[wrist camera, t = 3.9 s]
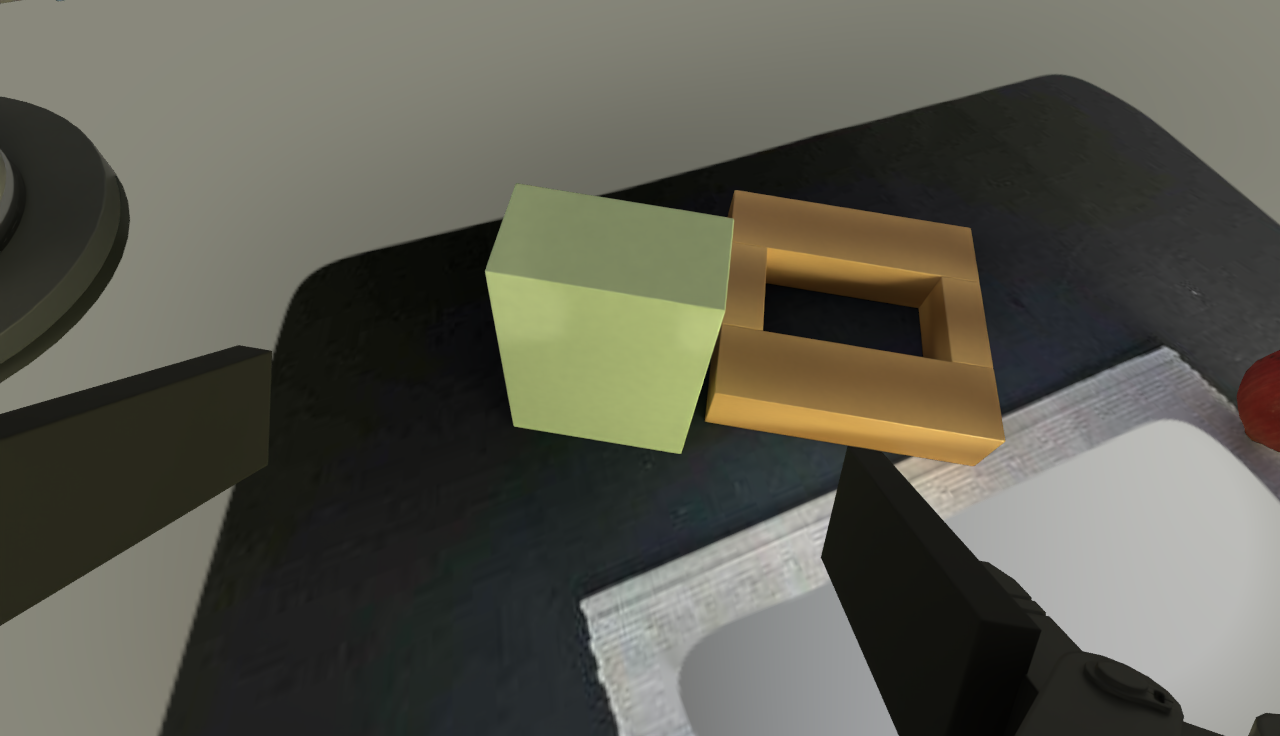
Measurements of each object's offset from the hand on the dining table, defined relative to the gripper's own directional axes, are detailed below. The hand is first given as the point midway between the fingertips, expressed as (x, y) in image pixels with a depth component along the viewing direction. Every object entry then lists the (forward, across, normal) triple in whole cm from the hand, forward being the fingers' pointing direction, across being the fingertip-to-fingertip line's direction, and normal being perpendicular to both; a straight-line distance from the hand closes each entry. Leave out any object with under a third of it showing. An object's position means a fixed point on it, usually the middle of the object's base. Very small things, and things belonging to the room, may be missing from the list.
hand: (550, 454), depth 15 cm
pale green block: (+19, 0, -4) cm, 20 cm away
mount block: (+24, +12, +1) cm, 27 cm away
